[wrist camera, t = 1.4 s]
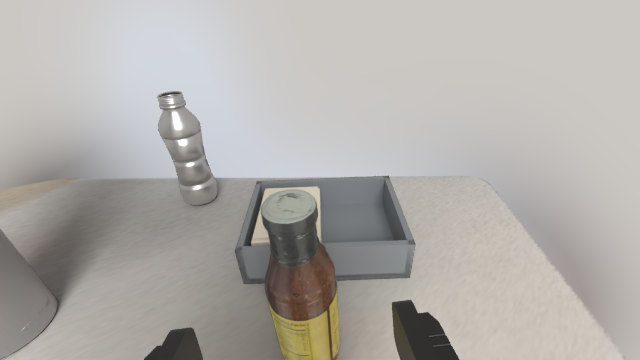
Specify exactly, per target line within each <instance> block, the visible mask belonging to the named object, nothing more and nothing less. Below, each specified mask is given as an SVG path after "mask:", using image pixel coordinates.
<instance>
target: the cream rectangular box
mask: <svg viewBox="0 0 640 360" xmlns="http://www.w3.org/2000/svg"><path fill="white" fill-rule="evenodd" d="M289 189H299V190H303V191H306V192H308V193H310V194H311V195H312V196H313V197H314V198H315V200H316V203H317V209H318V218H317V222H316V228H317V236H318V238H319V241H320V243H322V236H321V201H320V188H318V186H315V187H292V188H268V189H265V191H264V195H263V199H262V203H261V206H262V204H263V202H264V201H265V200H266V198H268V197H269V196H270V195H272V194H273V193H276V192H279V191H284V190H289ZM261 206H260V210H259V214H258V218H257V222H256V226H255V230H254V233H253V237H252V241H251V245H252V246H269V245H270V241H269V237H268V232H267V230H266V229H265V227H264V225H263V222H262V215H261Z"/></svg>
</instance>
